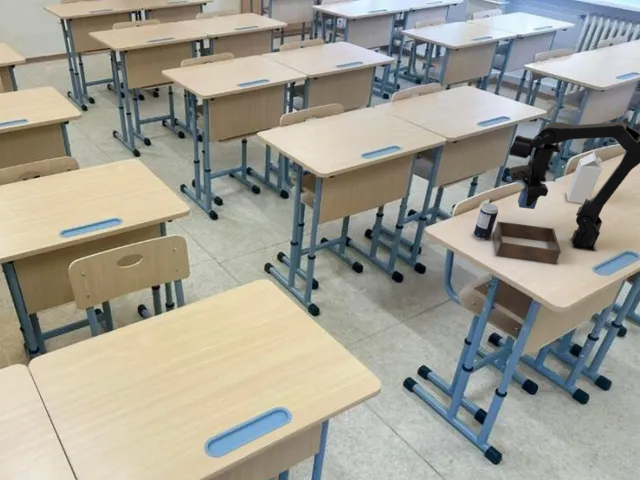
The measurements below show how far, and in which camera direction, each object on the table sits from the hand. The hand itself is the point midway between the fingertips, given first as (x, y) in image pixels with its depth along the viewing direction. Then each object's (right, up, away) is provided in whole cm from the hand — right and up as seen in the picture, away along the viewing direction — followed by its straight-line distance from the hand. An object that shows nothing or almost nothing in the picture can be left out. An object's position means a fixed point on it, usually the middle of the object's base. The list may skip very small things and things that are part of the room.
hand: (526, 202), depth 197 cm
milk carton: (+32, +5, +24) cm, 40 cm away
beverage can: (-16, -12, +1) cm, 20 cm away
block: (0, -1, +1) cm, 1 cm away
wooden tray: (-4, -17, -5) cm, 18 cm away
